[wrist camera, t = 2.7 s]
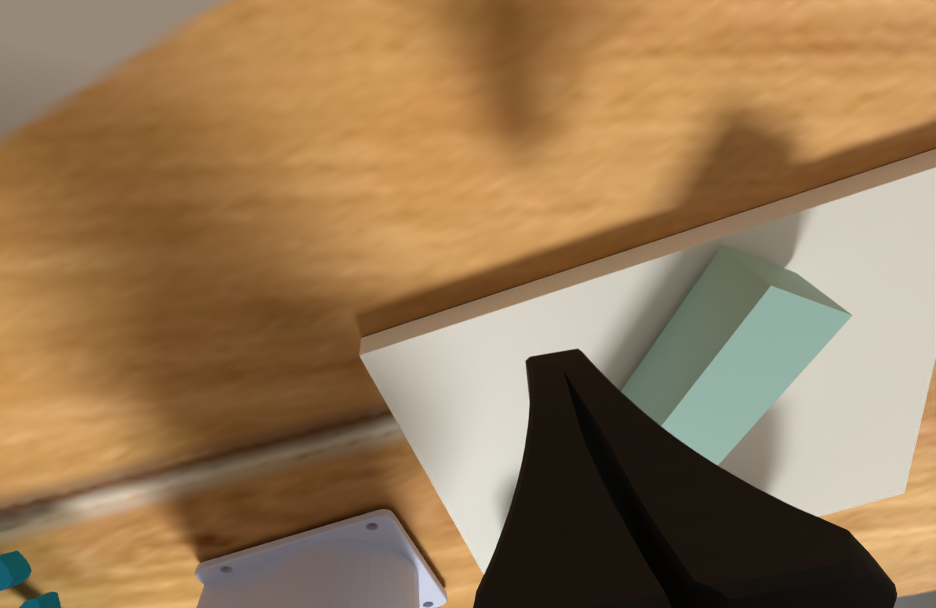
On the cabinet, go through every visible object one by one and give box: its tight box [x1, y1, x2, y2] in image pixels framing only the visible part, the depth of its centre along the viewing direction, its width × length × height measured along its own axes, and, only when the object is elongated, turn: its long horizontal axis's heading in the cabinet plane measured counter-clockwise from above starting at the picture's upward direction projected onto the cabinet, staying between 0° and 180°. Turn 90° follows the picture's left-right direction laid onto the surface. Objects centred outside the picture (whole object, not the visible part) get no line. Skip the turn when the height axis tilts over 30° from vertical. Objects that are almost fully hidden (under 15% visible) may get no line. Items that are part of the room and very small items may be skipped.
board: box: [359, 149, 936, 574], centre depth 21 cm, size 20×17×1 cm
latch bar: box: [621, 245, 853, 465], centre depth 19 cm, size 17×4×4 cm, turn 158°
